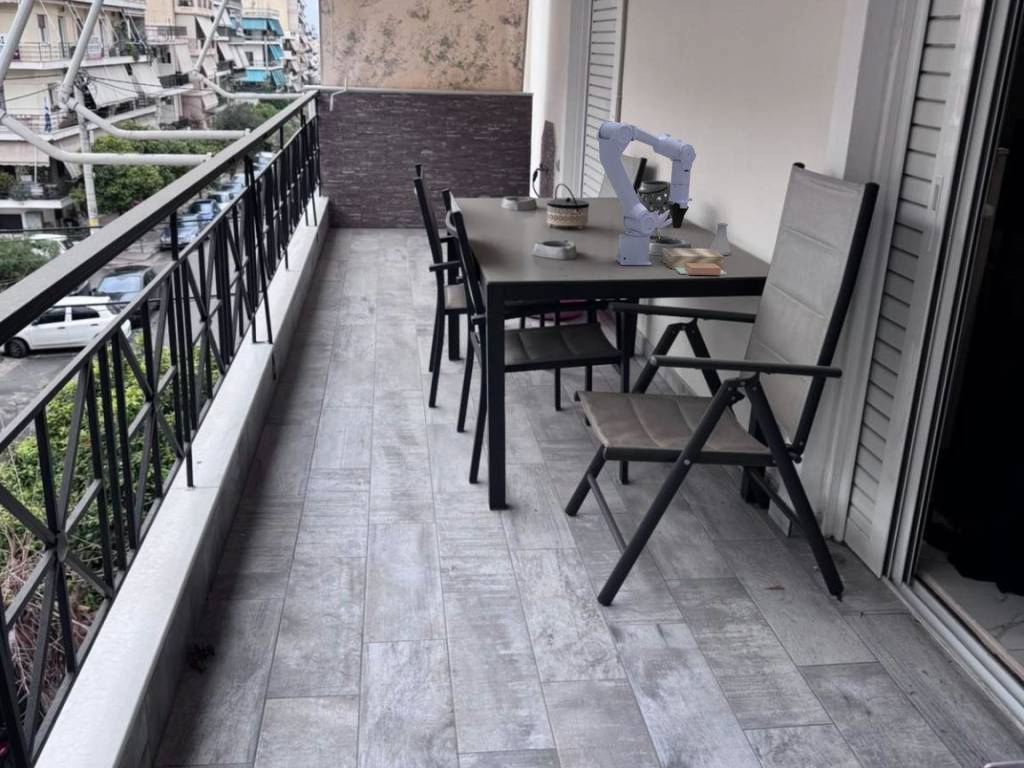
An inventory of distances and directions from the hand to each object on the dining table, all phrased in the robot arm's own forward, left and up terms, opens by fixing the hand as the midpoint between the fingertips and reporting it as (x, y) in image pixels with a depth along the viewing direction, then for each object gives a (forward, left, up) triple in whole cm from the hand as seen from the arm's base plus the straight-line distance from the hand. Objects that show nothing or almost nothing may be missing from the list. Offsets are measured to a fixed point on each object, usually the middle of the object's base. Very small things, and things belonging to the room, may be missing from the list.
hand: (676, 227), depth 286 cm
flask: (+18, +11, -10) cm, 23 cm away
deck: (+4, -7, -10) cm, 13 cm away
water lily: (+2, +37, -10) cm, 39 cm away
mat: (+4, -17, -10) cm, 20 cm away
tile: (+4, -19, -8) cm, 21 cm away
